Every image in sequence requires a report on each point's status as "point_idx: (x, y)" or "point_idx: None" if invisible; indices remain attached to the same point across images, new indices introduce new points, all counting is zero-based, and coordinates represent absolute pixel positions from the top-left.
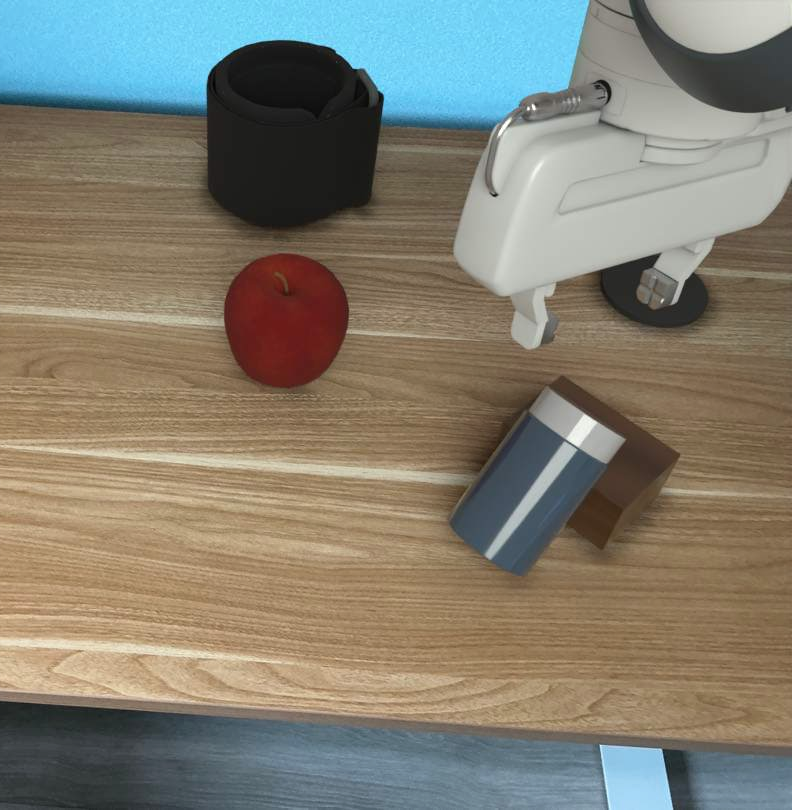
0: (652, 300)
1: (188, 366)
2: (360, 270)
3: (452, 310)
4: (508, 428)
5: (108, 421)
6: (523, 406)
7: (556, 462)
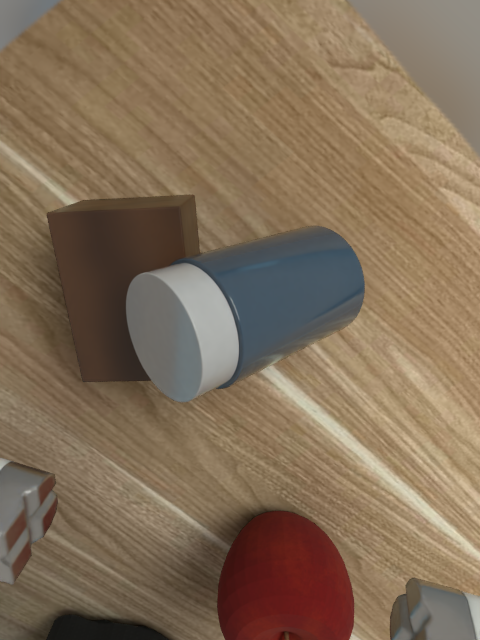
0: (44, 497)
1: None
2: (130, 563)
3: (87, 487)
4: None
5: (444, 571)
6: None
7: (262, 309)
